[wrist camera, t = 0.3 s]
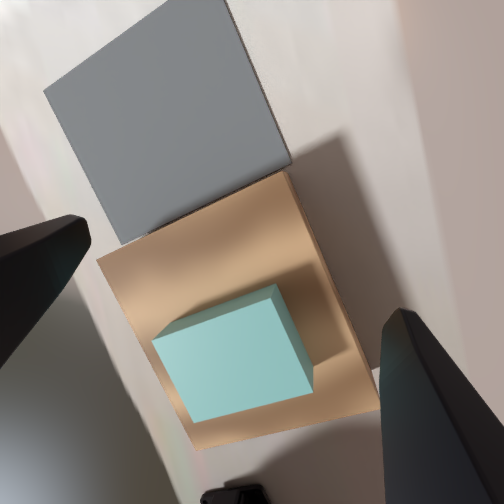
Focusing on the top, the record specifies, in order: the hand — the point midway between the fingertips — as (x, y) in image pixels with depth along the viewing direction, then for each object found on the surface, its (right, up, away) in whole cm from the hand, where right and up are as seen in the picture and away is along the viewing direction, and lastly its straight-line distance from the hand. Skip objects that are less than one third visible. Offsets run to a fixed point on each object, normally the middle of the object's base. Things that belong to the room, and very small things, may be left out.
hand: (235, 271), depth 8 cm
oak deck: (0, -4, +15) cm, 16 cm away
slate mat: (-6, +10, +13) cm, 18 cm away
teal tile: (-1, -6, +10) cm, 12 cm away
